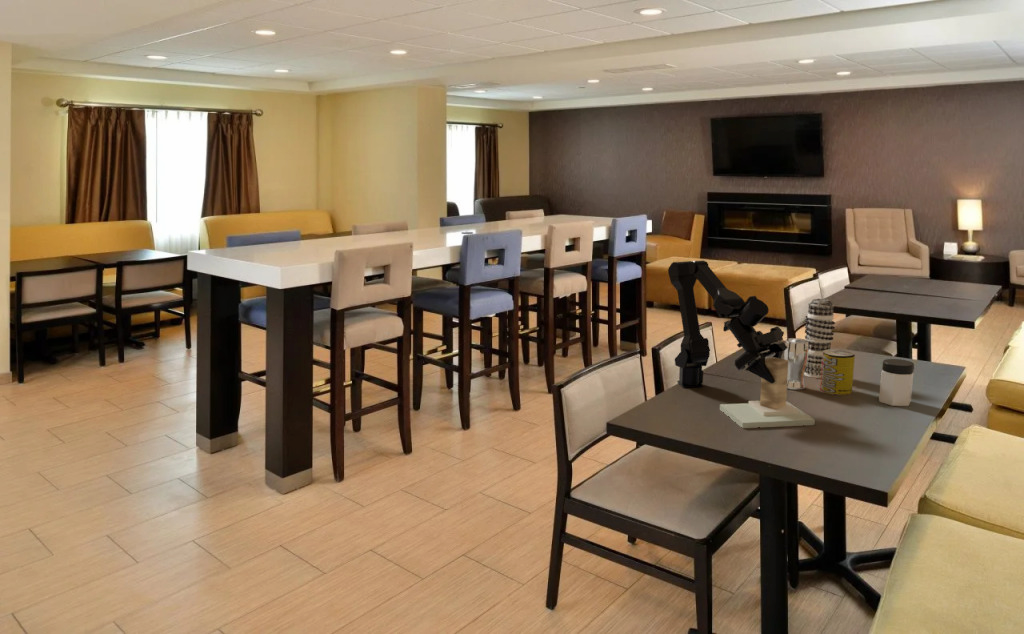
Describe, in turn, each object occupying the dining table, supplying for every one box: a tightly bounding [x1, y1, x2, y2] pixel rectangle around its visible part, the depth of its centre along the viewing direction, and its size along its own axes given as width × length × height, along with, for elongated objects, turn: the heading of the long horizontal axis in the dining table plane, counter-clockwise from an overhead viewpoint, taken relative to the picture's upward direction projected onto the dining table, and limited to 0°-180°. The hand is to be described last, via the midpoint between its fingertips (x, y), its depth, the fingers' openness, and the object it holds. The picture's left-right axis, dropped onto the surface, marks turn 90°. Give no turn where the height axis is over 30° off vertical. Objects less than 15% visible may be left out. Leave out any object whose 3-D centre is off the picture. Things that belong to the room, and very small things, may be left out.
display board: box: [719, 400, 816, 429], centre depth 213 cm, size 20×16×2 cm
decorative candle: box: [804, 298, 836, 379], centre depth 252 cm, size 9×9×25 cm
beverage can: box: [819, 348, 856, 396], centre depth 236 cm, size 9×9×12 cm
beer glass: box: [783, 337, 809, 391], centre depth 239 cm, size 7×7×15 cm
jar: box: [878, 358, 915, 407], centre depth 224 cm, size 9×8×12 cm
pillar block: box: [759, 357, 788, 409], centre depth 213 cm, size 5×5×13 cm
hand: (779, 380), depth 212 cm, fingers open, 6 cm apart
